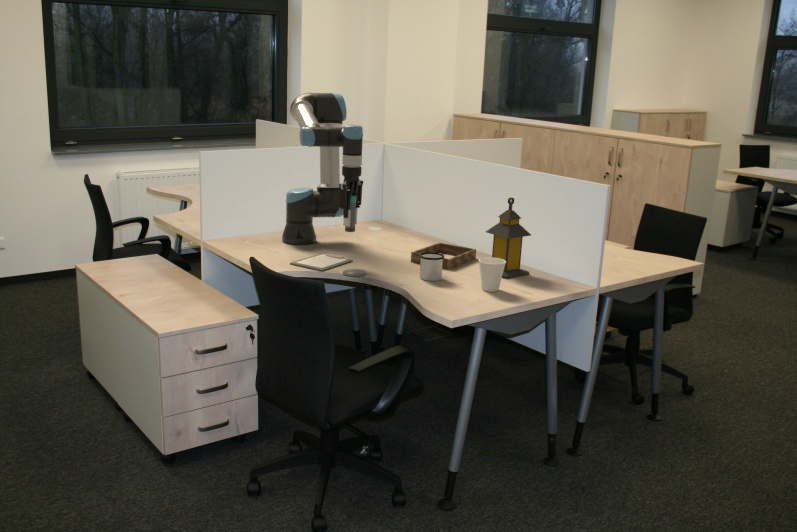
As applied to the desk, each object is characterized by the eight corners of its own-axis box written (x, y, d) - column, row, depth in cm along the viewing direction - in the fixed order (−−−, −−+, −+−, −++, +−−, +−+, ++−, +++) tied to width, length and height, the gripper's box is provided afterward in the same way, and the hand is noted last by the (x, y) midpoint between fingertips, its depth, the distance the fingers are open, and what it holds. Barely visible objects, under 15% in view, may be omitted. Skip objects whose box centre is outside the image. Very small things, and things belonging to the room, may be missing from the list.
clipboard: (321, 254, 310) (321, 251, 310) (352, 261, 302) (352, 258, 302) (290, 264, 294) (290, 261, 293) (322, 271, 286) (322, 268, 285)
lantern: (480, 270, 297) (485, 196, 289) (505, 266, 305) (511, 193, 297) (505, 279, 286) (511, 202, 278) (530, 274, 294) (537, 199, 287)
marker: (348, 229, 298) (349, 194, 294) (357, 230, 296) (358, 196, 292) (342, 230, 294) (343, 196, 291) (351, 232, 292) (352, 197, 289)
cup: (474, 285, 276) (476, 256, 273) (500, 286, 277) (502, 257, 274) (479, 293, 266) (481, 263, 263) (506, 294, 267) (509, 264, 264)
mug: (435, 283, 277) (436, 259, 274) (413, 278, 282) (414, 255, 279) (450, 276, 287) (452, 253, 284) (429, 272, 291) (430, 249, 289)
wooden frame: (438, 251, 324) (439, 242, 323) (475, 258, 315) (476, 249, 314) (410, 261, 305) (411, 252, 304) (449, 269, 296) (449, 259, 295)
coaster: (352, 269, 291) (352, 267, 291) (370, 273, 286) (371, 271, 286) (338, 273, 283) (338, 272, 283) (357, 278, 279) (357, 276, 279)
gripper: (356, 162, 297) (354, 219, 303) (330, 166, 283) (329, 226, 289) (372, 164, 293) (369, 222, 300) (347, 169, 279) (345, 230, 286)
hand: (350, 224), depth 295 cm, fingers closed on marker, 4 cm apart
